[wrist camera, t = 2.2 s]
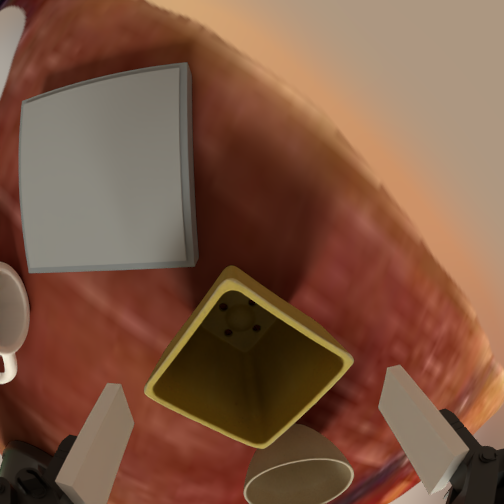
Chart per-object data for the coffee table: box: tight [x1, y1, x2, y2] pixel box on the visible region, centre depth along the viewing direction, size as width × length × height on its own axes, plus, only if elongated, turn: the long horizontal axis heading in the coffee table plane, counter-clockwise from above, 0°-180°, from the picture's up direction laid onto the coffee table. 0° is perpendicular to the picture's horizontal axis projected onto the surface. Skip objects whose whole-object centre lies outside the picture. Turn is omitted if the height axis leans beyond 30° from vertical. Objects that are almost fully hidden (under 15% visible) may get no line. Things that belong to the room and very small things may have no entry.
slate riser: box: [19, 62, 199, 273], centre depth 19 cm, size 14×14×3 cm
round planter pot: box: [244, 424, 354, 504], centre depth 24 cm, size 10×10×7 cm
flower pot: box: [144, 265, 354, 449], centre depth 19 cm, size 9×9×9 cm
